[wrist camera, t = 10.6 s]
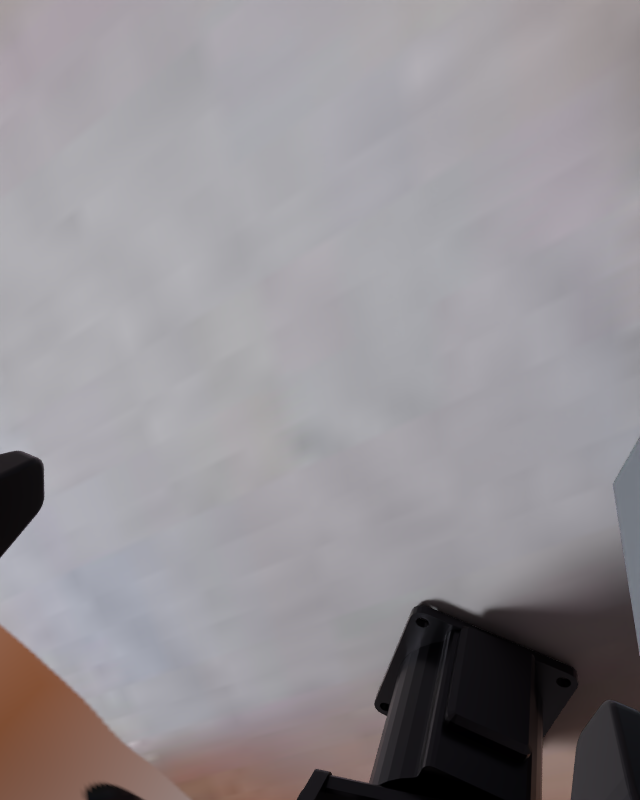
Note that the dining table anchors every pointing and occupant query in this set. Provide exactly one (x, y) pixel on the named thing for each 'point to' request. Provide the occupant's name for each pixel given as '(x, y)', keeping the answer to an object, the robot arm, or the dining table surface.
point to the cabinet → (630, 526)
